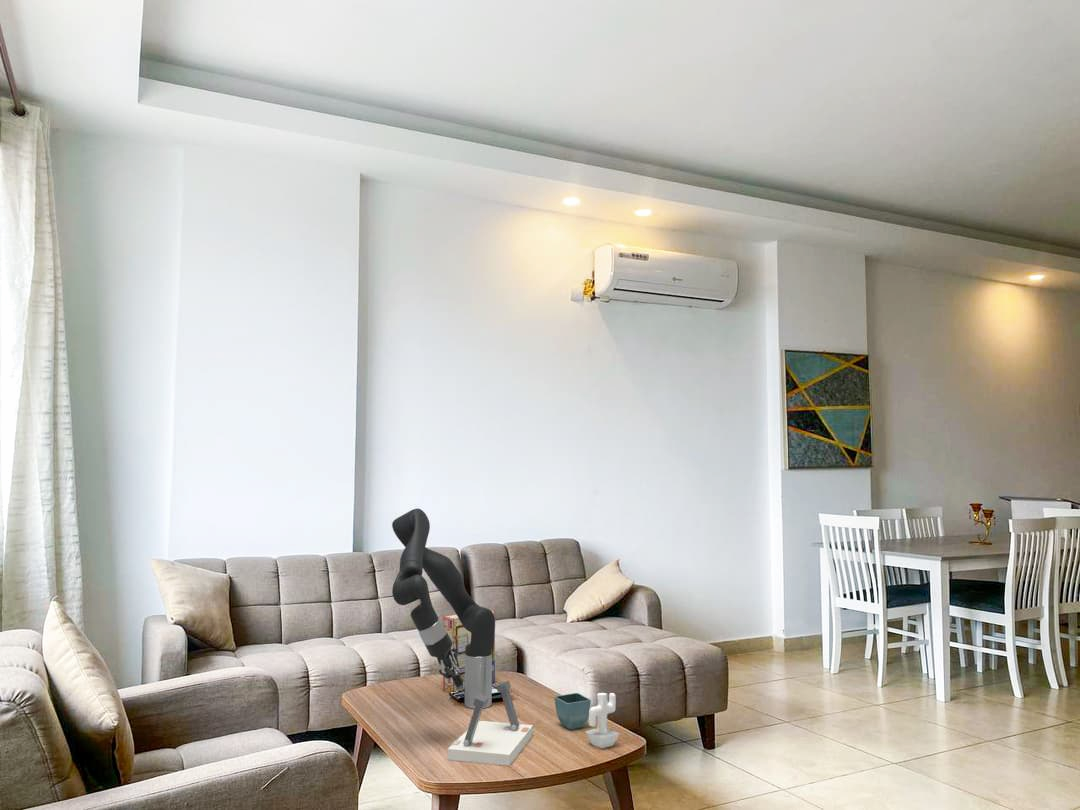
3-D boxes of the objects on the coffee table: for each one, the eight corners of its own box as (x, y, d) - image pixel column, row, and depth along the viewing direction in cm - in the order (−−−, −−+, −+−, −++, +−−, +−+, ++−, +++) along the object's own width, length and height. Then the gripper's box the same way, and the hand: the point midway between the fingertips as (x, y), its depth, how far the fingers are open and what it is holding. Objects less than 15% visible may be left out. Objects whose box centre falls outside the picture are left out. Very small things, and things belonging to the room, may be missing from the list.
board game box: (484, 680, 315) (485, 608, 316) (495, 683, 310) (496, 610, 312) (442, 691, 300) (443, 615, 302) (452, 694, 296) (453, 618, 298)
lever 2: (513, 727, 252) (500, 682, 254) (522, 725, 251) (508, 680, 253) (509, 732, 247) (496, 686, 249) (518, 729, 247) (504, 684, 249)
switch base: (477, 730, 257) (477, 719, 258) (533, 735, 253) (533, 724, 253) (447, 759, 232) (447, 747, 232) (509, 765, 228) (509, 753, 228)
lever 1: (465, 739, 239) (480, 693, 239) (474, 742, 238) (488, 697, 238) (460, 744, 234) (475, 698, 234) (469, 748, 234) (484, 701, 234)
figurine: (582, 744, 245) (582, 693, 246) (606, 738, 250) (606, 688, 251) (598, 751, 239) (597, 698, 240) (622, 745, 245) (622, 693, 245)
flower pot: (567, 733, 255) (567, 703, 256) (553, 724, 263) (553, 696, 264) (591, 728, 259) (591, 699, 260) (577, 720, 267) (577, 692, 268)
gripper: (429, 630, 256) (453, 677, 259) (418, 652, 243) (444, 701, 246) (450, 621, 255) (475, 669, 257) (441, 643, 242) (467, 693, 244)
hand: (460, 684), depth 252 cm, fingers closed
